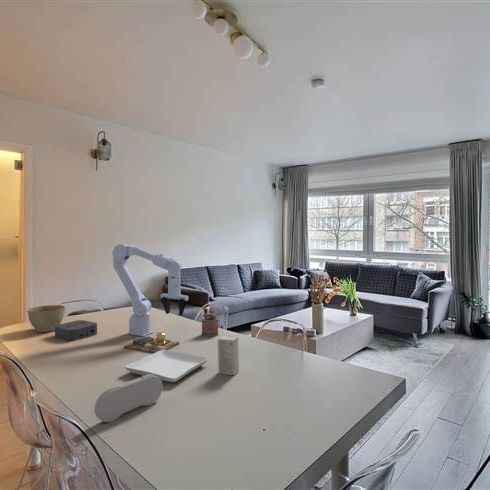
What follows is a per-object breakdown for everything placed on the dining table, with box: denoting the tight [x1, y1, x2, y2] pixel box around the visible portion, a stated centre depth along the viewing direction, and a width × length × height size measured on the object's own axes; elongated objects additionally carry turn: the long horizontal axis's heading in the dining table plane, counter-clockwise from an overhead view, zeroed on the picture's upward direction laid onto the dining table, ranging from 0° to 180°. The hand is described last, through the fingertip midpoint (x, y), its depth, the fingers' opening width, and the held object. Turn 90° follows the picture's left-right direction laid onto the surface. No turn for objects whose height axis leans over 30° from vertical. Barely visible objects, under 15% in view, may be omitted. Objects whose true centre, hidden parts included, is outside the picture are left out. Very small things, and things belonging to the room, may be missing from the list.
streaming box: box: [54, 319, 98, 342], centre depth 166 cm, size 14×14×5 cm
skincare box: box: [217, 335, 240, 376], centre depth 123 cm, size 6×4×12 cm
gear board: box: [123, 335, 180, 354], centre depth 151 cm, size 18×14×2 cm
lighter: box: [201, 313, 219, 337], centre depth 168 cm, size 8×3×10 cm, turn 84°
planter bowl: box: [27, 304, 66, 333], centre depth 174 cm, size 16×16×11 cm
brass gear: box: [154, 331, 168, 346], centre depth 150 cm, size 6×6×5 cm
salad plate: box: [124, 349, 209, 383], centre depth 125 cm, size 21×21×3 cm
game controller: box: [94, 374, 163, 423], centre depth 96 cm, size 20×2×8 cm, turn 140°
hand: (174, 314), depth 169 cm, fingers open, 7 cm apart
